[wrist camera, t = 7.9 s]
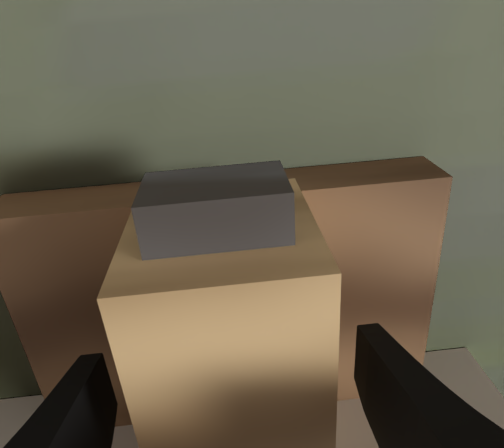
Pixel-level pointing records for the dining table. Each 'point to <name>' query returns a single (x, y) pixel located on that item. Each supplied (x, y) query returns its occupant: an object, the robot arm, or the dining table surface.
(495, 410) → the shelf board
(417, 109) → the dining table surface
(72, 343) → the brown rectangular panel
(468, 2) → the dining table surface
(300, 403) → the tan rectangular block
